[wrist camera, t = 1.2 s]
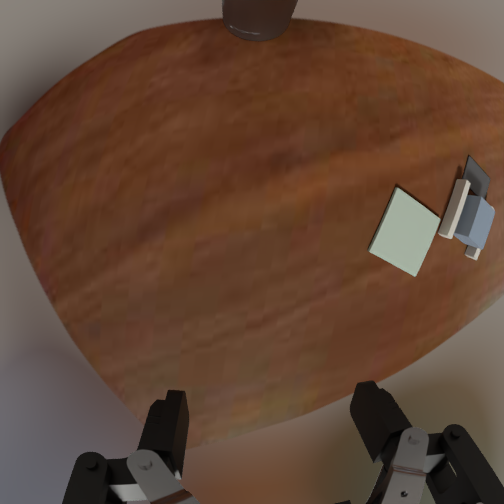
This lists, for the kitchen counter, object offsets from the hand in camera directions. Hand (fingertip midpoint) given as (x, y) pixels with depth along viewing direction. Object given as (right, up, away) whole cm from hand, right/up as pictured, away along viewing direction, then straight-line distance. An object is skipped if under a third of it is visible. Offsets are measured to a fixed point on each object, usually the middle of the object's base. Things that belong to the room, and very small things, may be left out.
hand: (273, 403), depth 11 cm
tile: (+22, +10, +25) cm, 35 cm away
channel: (+36, +15, +25) cm, 46 cm away
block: (+35, +12, +26) cm, 45 cm away
